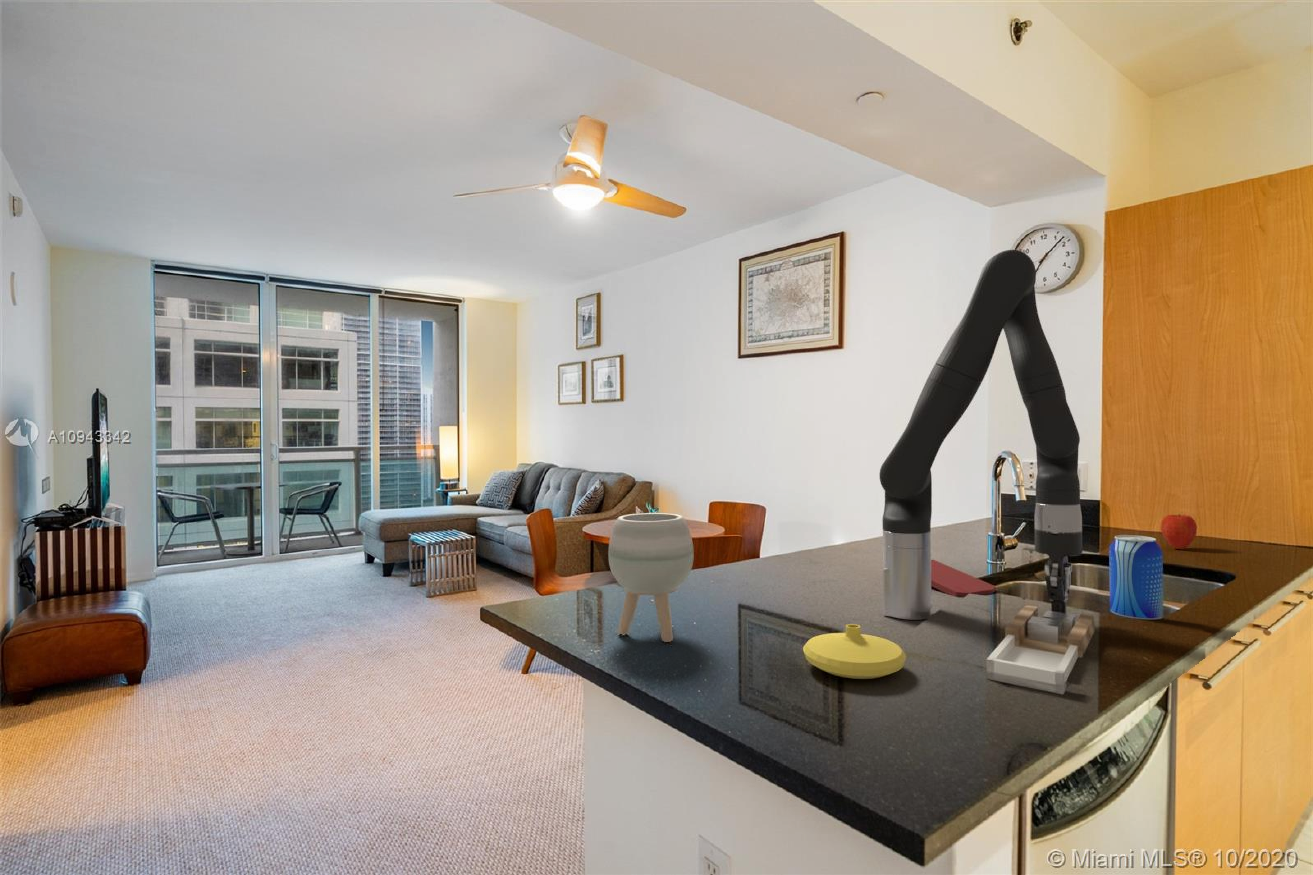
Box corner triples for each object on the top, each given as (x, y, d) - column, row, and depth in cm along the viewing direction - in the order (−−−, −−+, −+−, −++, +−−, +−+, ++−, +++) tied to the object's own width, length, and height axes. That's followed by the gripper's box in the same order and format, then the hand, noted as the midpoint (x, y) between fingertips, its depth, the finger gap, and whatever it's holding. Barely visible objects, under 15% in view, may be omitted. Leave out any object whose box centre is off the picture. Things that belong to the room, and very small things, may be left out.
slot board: (1025, 626, 125) (1025, 605, 125) (1094, 636, 118) (1094, 614, 118) (1005, 651, 111) (1005, 627, 111) (1081, 665, 104) (1081, 640, 104)
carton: (998, 608, 152) (918, 571, 175) (1000, 588, 151) (920, 553, 174) (958, 614, 147) (882, 576, 170) (960, 593, 146) (883, 557, 169)
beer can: (1148, 628, 122) (1147, 542, 122) (1101, 617, 130) (1099, 536, 130) (1172, 621, 126) (1171, 538, 126) (1124, 611, 134) (1123, 533, 134)
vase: (795, 653, 113) (794, 612, 113) (887, 653, 112) (887, 612, 112) (814, 689, 97) (813, 642, 97) (922, 689, 96) (921, 641, 96)
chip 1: (1032, 633, 117) (1032, 616, 117) (1062, 637, 114) (1061, 620, 114) (1027, 639, 114) (1027, 622, 114) (1058, 644, 111) (1057, 626, 111)
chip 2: (1047, 626, 121) (1047, 610, 121) (1076, 631, 118) (1075, 614, 118) (1042, 633, 117) (1042, 616, 117) (1072, 637, 114) (1072, 620, 114)
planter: (592, 636, 124) (589, 518, 124) (650, 617, 136) (648, 509, 136) (654, 655, 113) (652, 525, 113) (712, 632, 125) (710, 515, 125)
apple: (1171, 551, 193) (1170, 515, 193) (1154, 546, 202) (1154, 511, 202) (1204, 552, 192) (1203, 515, 192) (1185, 547, 200) (1185, 511, 200)
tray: (1008, 651, 111) (1008, 634, 111) (1078, 664, 105) (1077, 645, 105) (986, 678, 100) (986, 659, 100) (1063, 694, 93) (1063, 673, 93)
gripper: (1040, 521, 129) (1041, 609, 129) (1028, 530, 119) (1029, 626, 119) (1086, 524, 124) (1087, 615, 124) (1077, 534, 114) (1078, 633, 114)
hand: (1059, 620), depth 122 cm, fingers closed
